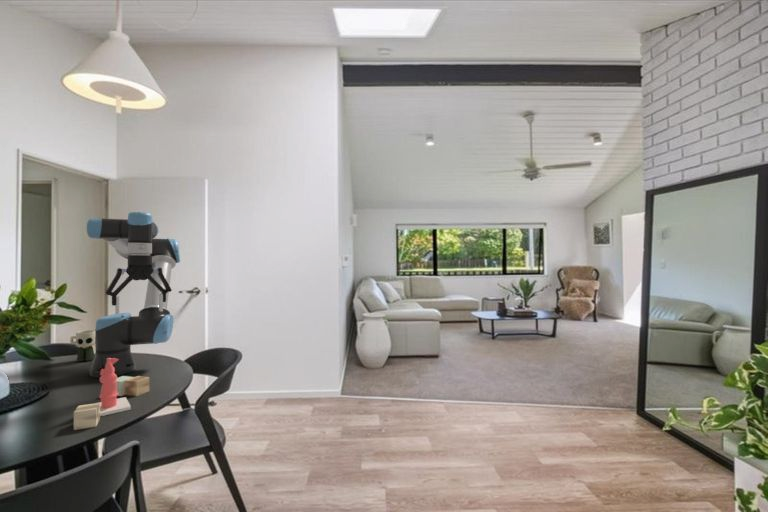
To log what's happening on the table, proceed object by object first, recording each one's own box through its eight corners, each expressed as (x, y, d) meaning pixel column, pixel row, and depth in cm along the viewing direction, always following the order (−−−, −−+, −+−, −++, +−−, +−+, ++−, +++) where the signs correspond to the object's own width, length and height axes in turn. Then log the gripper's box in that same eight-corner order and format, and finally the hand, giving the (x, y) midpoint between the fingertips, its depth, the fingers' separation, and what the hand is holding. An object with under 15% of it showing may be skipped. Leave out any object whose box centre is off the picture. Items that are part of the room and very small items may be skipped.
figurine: (113, 401, 122) (114, 354, 122) (122, 404, 119) (123, 356, 119) (95, 406, 117) (95, 358, 117) (104, 410, 115) (104, 360, 115)
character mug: (68, 364, 164) (68, 334, 164) (72, 360, 170) (72, 331, 170) (99, 360, 169) (99, 331, 169) (102, 357, 176) (102, 329, 176)
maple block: (78, 423, 109) (78, 405, 109) (99, 419, 111) (100, 402, 111) (73, 430, 104) (73, 412, 104) (96, 426, 107) (96, 409, 106)
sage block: (109, 394, 130) (109, 380, 130) (123, 389, 135) (123, 375, 135) (121, 396, 129) (121, 381, 129) (134, 391, 134) (134, 377, 134)
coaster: (87, 408, 119) (87, 404, 119) (125, 400, 125) (125, 397, 125) (90, 418, 111) (90, 415, 111) (130, 409, 118) (130, 406, 118)
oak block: (125, 394, 130) (125, 380, 130) (138, 389, 135) (138, 375, 135) (136, 396, 129) (136, 381, 129) (149, 391, 134) (149, 377, 134)
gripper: (98, 254, 128) (98, 317, 128) (180, 254, 144) (180, 310, 144) (96, 254, 133) (96, 314, 133) (175, 254, 150) (174, 308, 150)
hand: (139, 312), depth 139 cm, fingers open, 13 cm apart
